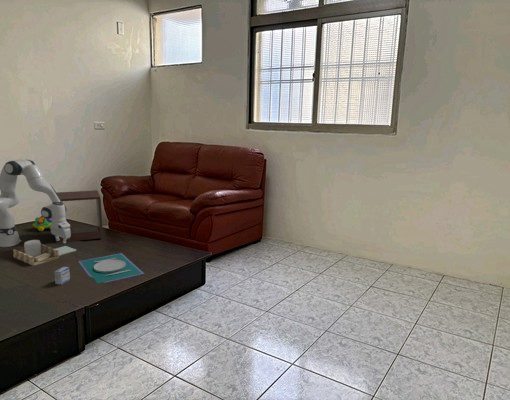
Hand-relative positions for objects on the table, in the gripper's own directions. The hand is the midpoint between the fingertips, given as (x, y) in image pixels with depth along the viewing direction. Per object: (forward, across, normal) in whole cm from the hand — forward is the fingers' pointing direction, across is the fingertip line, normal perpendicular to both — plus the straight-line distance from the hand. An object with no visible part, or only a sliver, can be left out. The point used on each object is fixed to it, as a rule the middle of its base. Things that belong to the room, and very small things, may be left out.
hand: (61, 241), depth 280 cm
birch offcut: (+6, +6, -18) cm, 20 cm away
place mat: (+8, +53, +3) cm, 54 cm away
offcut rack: (+7, -2, -18) cm, 20 cm away
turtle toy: (+8, -66, +25) cm, 71 cm away
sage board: (+7, 0, 0) cm, 7 cm away
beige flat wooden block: (+8, +6, -18) cm, 21 cm away
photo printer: (+8, -5, -18) cm, 20 cm away
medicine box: (+8, +51, -29) cm, 59 cm away
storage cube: (+8, -25, +30) cm, 40 cm away
